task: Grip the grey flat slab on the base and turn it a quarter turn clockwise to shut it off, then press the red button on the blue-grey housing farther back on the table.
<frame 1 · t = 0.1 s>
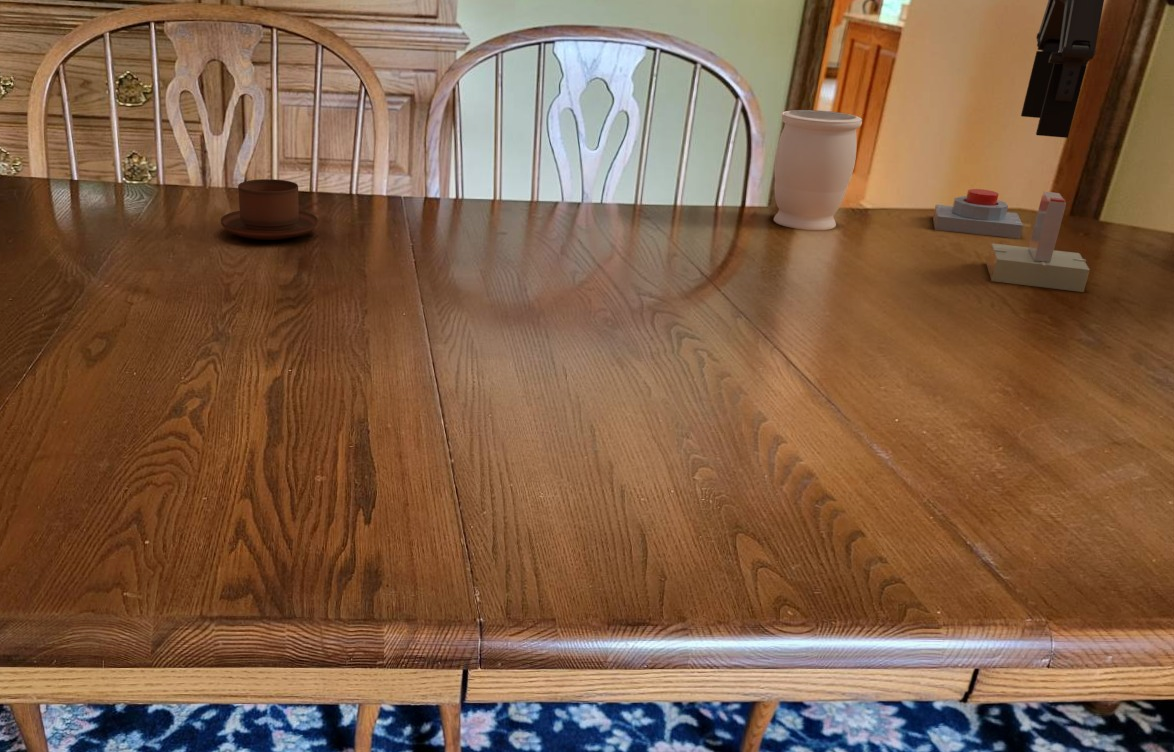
hand: (1042, 126, 111), 20 cm above the table, tool pointing down, fingers open, 13 cm apart
button: (981, 198, 154), point 4 cm above the table, slide at 0.1 cm
button box: (974, 229, 156), on the table
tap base: (1032, 280, 133), on the table
cup and saucer: (270, 236, 139), on the table
jar: (803, 226, 155), on the table
grey flat slab: (1047, 225, 131), point 7 cm above the table, hinge at 90.0°
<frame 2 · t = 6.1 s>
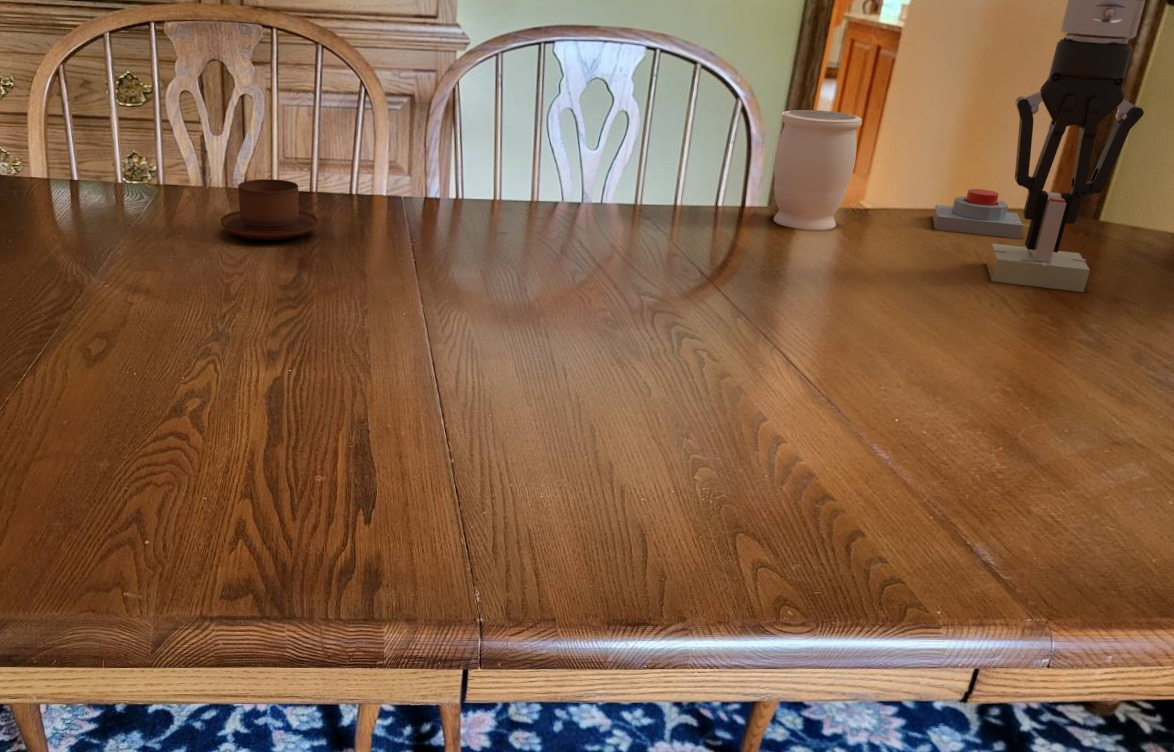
hand: (1041, 247, 132), 4 cm above the table, tool pointing down, fingers closed on grey flat slab, 2 cm apart
grey flat slab: (1047, 225, 131), point 7 cm above the table, hinge at 90.0°, touching gripper
everything else where it was.
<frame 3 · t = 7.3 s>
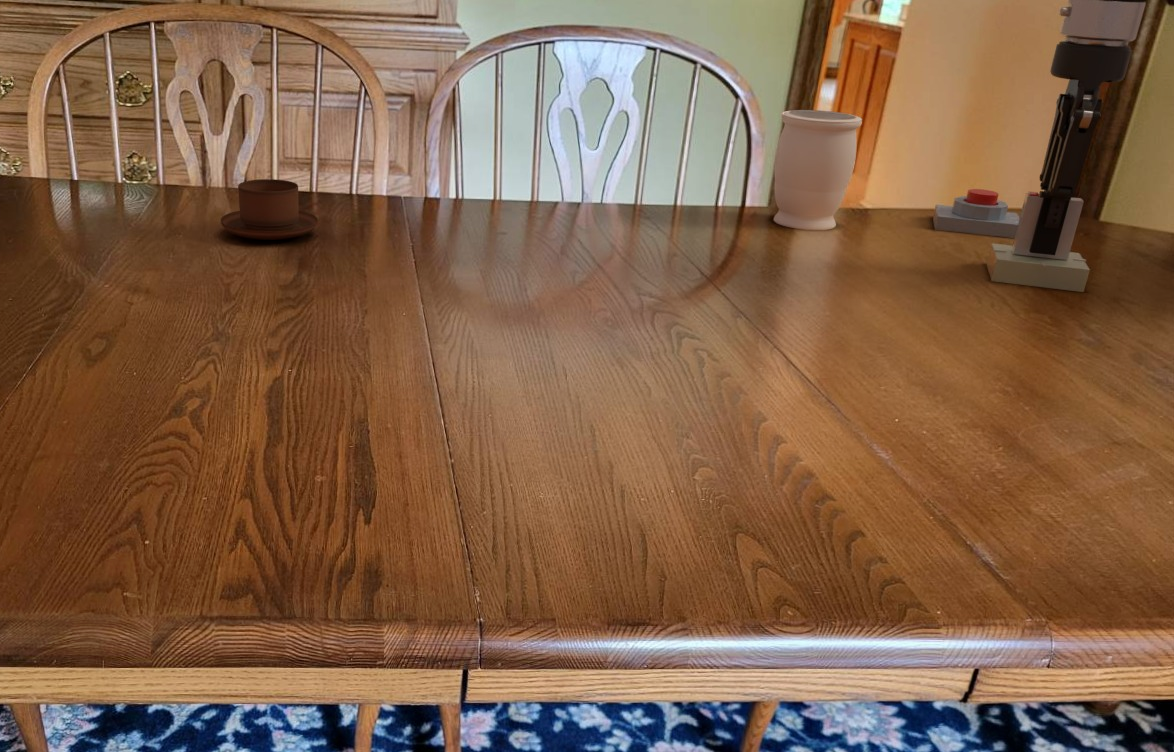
hand: (1040, 249, 132), 4 cm above the table, tool pointing down, fingers open, 3 cm apart
grey flat slab: (1047, 225, 131), point 7 cm above the table, hinge at 0.6°
everything else where it was.
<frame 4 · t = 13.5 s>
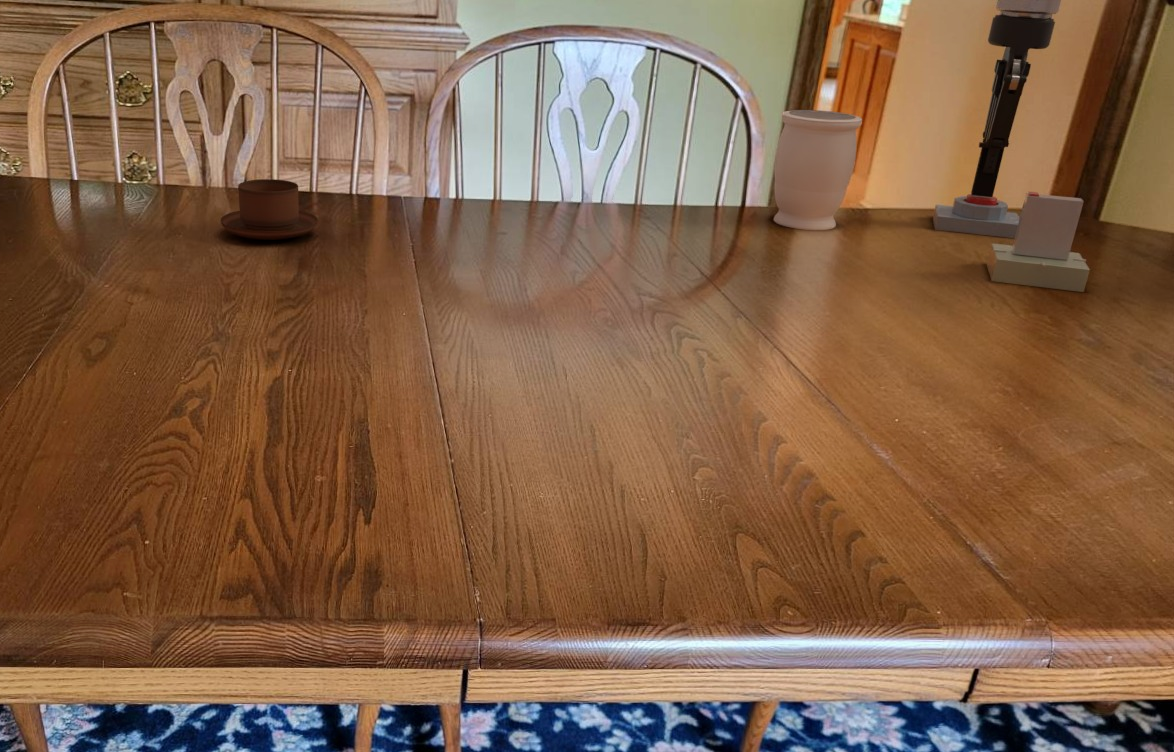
hand: (981, 194, 154), 5 cm above the table, tool pointing down, fingers closed
button: (980, 203, 155), point 4 cm above the table, slide at -0.6 cm, touching gripper
everything else where it was.
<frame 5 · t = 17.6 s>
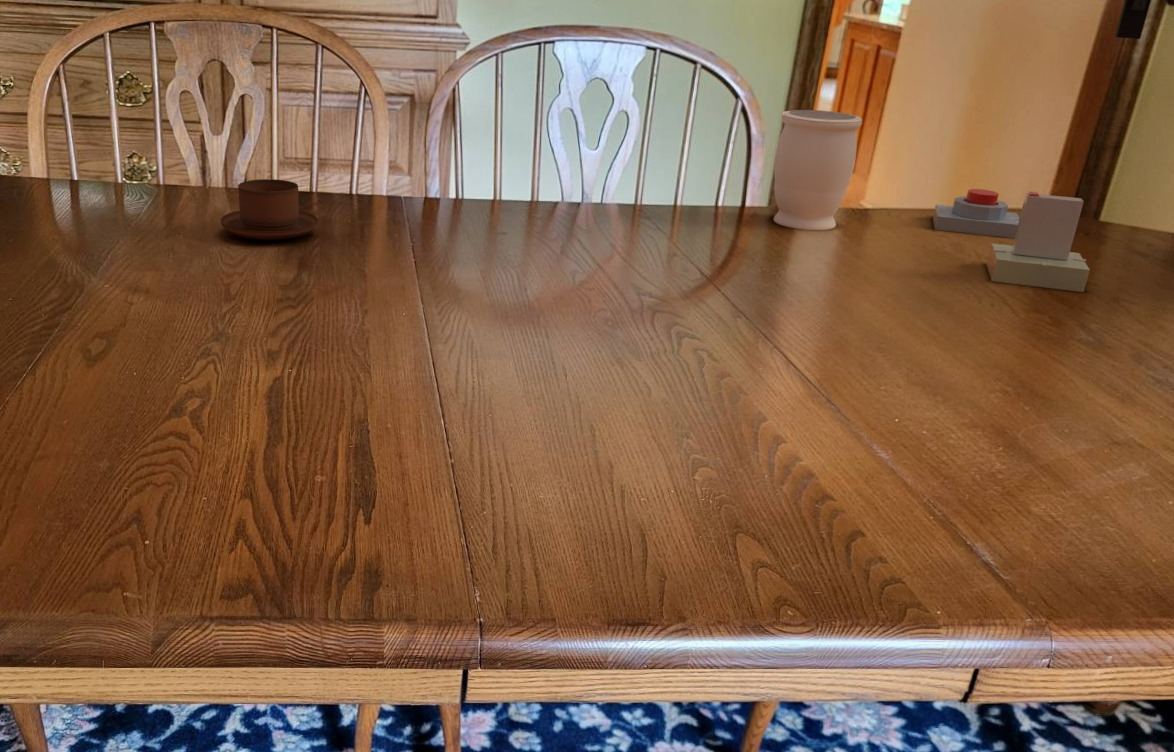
hand: (1127, 37, 143), 26 cm above the table, tool pointing down, fingers closed
button: (981, 198, 154), point 4 cm above the table, slide at 0.1 cm
everything else where it was.
at the end: grey flat slab at +1° (first picture: +90°); button pushed in 1.0 cm at the most during the clip, back to where it started at the end; button slide at 0.1 cm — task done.
